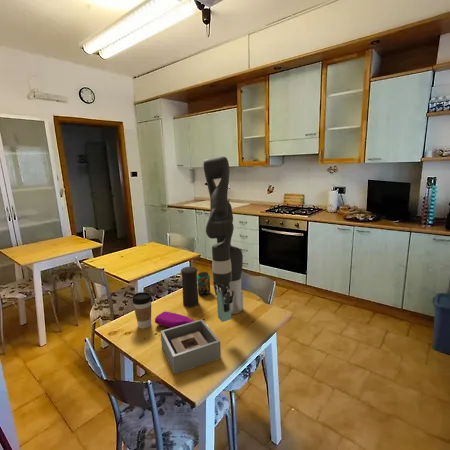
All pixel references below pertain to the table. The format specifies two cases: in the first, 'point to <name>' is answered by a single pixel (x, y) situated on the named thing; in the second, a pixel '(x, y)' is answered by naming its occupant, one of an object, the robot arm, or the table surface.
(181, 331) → the crate
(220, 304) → the peg
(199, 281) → the beverage can
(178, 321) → the spray bottle
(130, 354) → the table surface
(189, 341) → the plate
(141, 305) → the coffee cup
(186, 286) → the container
